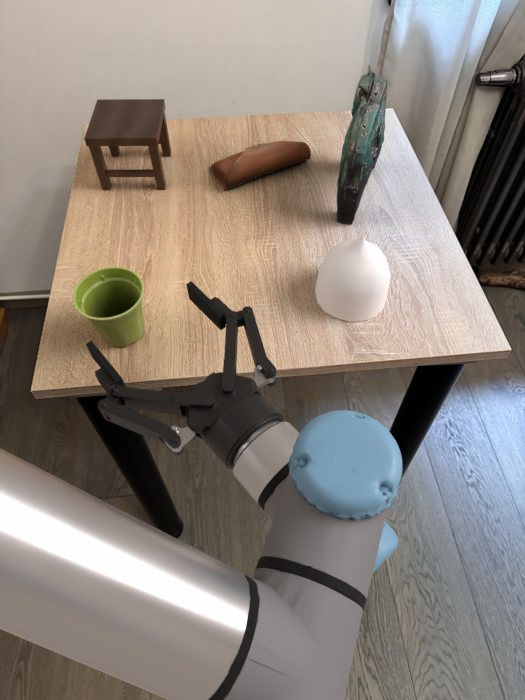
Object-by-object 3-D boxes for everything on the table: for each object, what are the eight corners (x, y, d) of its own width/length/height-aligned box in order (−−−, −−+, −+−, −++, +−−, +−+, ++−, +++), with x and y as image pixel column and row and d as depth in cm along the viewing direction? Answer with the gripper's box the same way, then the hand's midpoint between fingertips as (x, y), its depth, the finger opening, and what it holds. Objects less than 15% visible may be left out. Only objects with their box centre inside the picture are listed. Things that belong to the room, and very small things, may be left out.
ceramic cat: (346, 156, 98) (363, 46, 82) (380, 161, 97) (403, 51, 81) (326, 223, 87) (340, 112, 71) (363, 230, 86) (386, 119, 70)
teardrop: (311, 317, 76) (318, 260, 66) (317, 264, 82) (324, 204, 72) (386, 325, 75) (405, 268, 65) (386, 271, 81) (403, 211, 71)
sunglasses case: (287, 138, 101) (298, 119, 94) (303, 170, 101) (315, 153, 94) (206, 166, 96) (212, 148, 89) (222, 200, 96) (229, 184, 89)
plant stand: (100, 191, 93) (84, 138, 84) (111, 151, 99) (97, 99, 91) (166, 190, 93) (156, 138, 84) (172, 151, 99) (164, 98, 91)
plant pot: (81, 353, 72) (61, 314, 65) (103, 302, 77) (87, 262, 70) (144, 361, 71) (131, 323, 64) (162, 310, 77) (152, 270, 69)
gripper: (160, 539, 49) (57, 394, 58) (342, 393, 58) (228, 288, 67) (144, 515, 43) (32, 357, 52) (351, 356, 52) (224, 246, 61)
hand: (142, 318), depth 60 cm, fingers open, 13 cm apart
